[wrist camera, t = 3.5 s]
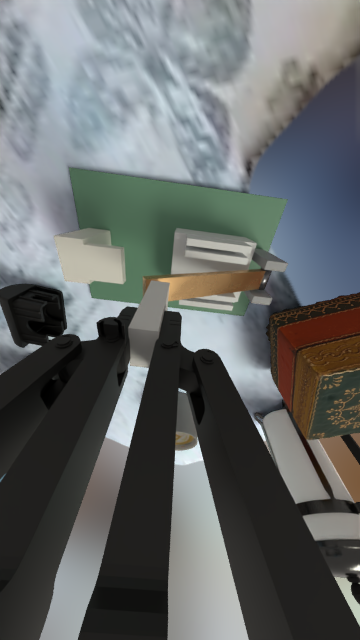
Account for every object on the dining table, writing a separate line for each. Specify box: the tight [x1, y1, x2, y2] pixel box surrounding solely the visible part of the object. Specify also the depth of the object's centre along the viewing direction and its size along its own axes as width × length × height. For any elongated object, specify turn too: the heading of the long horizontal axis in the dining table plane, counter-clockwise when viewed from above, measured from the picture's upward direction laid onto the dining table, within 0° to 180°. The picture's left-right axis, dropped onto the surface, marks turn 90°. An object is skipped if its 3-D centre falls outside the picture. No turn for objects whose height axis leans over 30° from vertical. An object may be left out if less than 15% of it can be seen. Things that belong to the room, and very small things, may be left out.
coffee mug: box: [175, 392, 198, 451], centre depth 47 cm, size 13×10×10 cm
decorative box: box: [266, 292, 360, 440], centre depth 29 cm, size 20×22×16 cm
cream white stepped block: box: [54, 228, 126, 284], centre depth 23 cm, size 7×5×8 cm
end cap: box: [0, 284, 67, 348], centre depth 32 cm, size 10×7×7 cm
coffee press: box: [254, 400, 360, 604], centre depth 39 cm, size 17×16×30 cm
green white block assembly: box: [69, 168, 288, 316], centre depth 24 cm, size 28×18×9 cm, turn 83°
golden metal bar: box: [143, 267, 272, 301], centre depth 19 cm, size 17×3×1 cm, turn 83°
